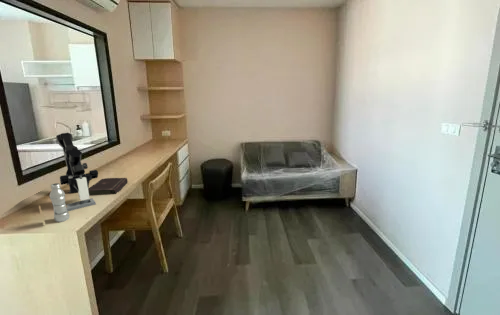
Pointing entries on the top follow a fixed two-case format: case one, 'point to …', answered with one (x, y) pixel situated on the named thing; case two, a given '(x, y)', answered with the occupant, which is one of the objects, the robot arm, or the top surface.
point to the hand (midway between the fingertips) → (83, 189)
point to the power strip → (80, 204)
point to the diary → (108, 186)
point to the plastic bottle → (58, 203)
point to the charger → (82, 188)
